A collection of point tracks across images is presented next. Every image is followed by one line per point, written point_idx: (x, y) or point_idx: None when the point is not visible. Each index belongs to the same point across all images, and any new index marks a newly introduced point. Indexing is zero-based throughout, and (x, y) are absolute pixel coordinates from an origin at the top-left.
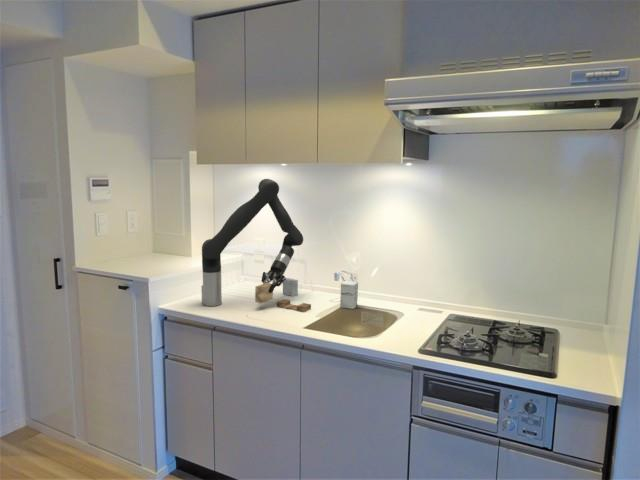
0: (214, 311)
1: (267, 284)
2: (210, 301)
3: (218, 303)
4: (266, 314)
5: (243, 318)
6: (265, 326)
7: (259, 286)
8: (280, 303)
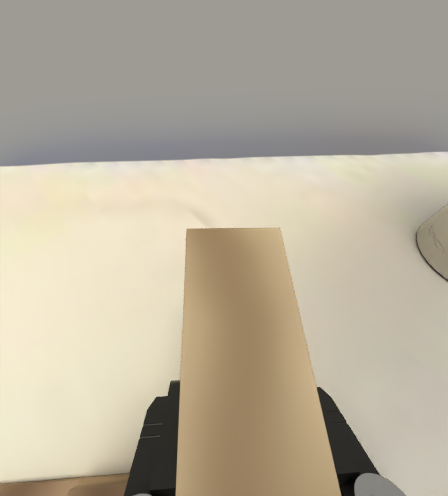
0: (344, 195)
1: (237, 419)
2: (440, 210)
3: (427, 246)
4: (132, 275)
5: (191, 191)
6: (62, 171)
7: (239, 245)
8: (109, 483)
